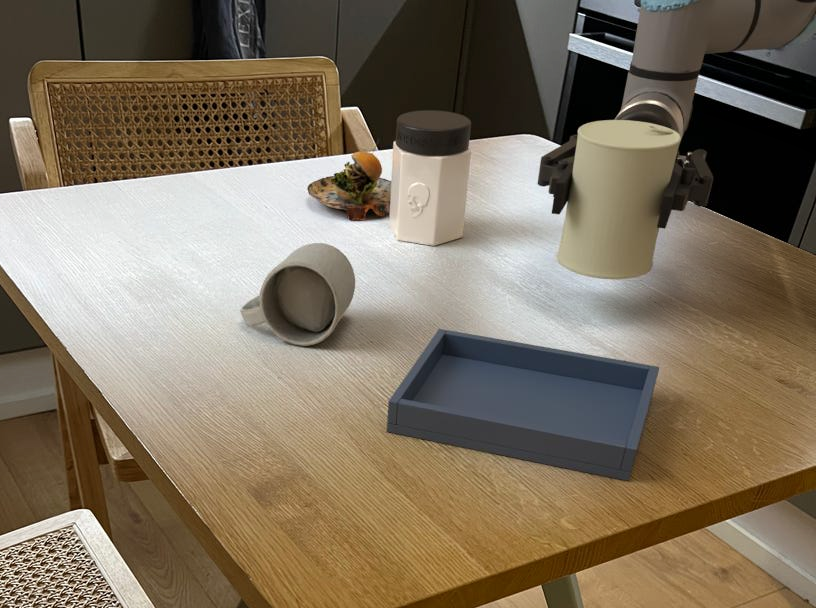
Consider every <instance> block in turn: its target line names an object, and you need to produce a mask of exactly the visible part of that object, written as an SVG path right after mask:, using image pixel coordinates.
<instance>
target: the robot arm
mask: <svg viewBox="0 0 816 608" xmlns="http://www.w3.org/2000/svg"><path fill="white" fill-rule="evenodd" d="M639 8H640V10H639V14H638V20H637V28H636V32H635V38H634V45H633V51H632V57H631V62H630V65H629V69H628V73H627V77H626V83H625V87H624V93H623V98H622V104H621V107H620V111H619V112H618V114H617V115H616V117H615V118H614V119H613V120H630V121H640V122H646V123H652V124H656V125H660V126H664V127H667V128H670V129H672V130H674V131H676V132H677V133H678V134H679V135H680V136H681V140H682V139H683V136H684V134H685V132H686V131H687V130H688V127H689V126H690V125H689V124H690V121H691V117H692V112H693V107H694V106H693V101H694V97H695V93H696V88H697V83H698V79H699V77H700V72H701V68H702V64H703V62H704V58H705V55H709V54H719V53H720V54H721V53H733V52H746V51H762V50H763V51H764V50H767V51H771V50H780V49H783V48H785V47H790V46H795V45H799V44H801V43H803V42H805V41H807V40H809V39H810V38H811V37H812V36H813V35H814V34H815V33H816V0H640V7H639ZM577 137H578V134H573V135H570V137H569V140H568V141H567V142H565V143H563V144H561V145H560V146H558V147H556V148H555V149H552V150H551V151H549V152H548V153H546V154H544V155H543V156H541V157H540V162H539V172H538V176H537V183H536V184H537V185H538V186H539V187H548V186H549V187H548V194H549V195H552V198H553V199H552V200H553V201H552V202H553V203H552V208H551V213H550V214H553V215H559V216H560V215H561V213H562V211H563V210H564V208H565V206H567V202H568V196H569V190H570V184H571V178H572V172H573V165H574V159H575V152H576V145H577ZM707 153H708V151H707V150H705V149H703V148H698V149H694V150H693V152H692V151H687V153H686V155H680V150H678V151H677V155H676V159H675V163H674V167H673V171H672V175H671V179H670V182H669V184H668V187H667V189H666V192H665V195H664V198H663V203H662V207H661V211H660V216H659V220H658V224H657V228H659V229H664V230H665V229H667V225H668V222H669V219H670V216H671V214H672V211H677V212H678V211H679V212H683V211H685V209H686V207H687V204H688V202H692V204H693V205H694V206H696V207H699V208H702V207H703V208H704V207H706V206H707V205H708V201H709V197H710V194H711V189H712V186H713V181H714V176H713V173H712V172H711V169H710V167H709V165H708V163H707V162H706V157H707Z"/></svg>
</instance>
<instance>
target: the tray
mask: <svg viewBox="0 0 816 608" xmlns="http://www.w3.org/2000/svg"><path fill="white" fill-rule="evenodd" d="M659 371H660V366H657V365H650V364H645V363H640V362H634V361H629V360H622V359H618V358H617V359H616V358H610V357H606V356H605V357H604V356H599V355H593V354H588V353H581V352H575V351H571V350H564V349H559V348H553V347H548V346H542V345H535V344H530V343H523V342H517V341H512V340H507V339H501V338H495V337H490V336H484V335H478V334H472V333H466V332H461V331H455V330H449V329H443V328H438V329H437V331H436V332H435V333H434V335H433V337H432V338H431V339H430V341H429V343H428V344H427V345H426V347H425V348H424V349H423V351H422V352H421V354H420V355H419V356H418V358H417V359H416V361H415V362H414V364H413V365H412V367H411V368H410V369H409V371H408V373H407V374H406V376H405V377H404V378H403V380H402V381H401V382H400V384H399V386H397V388H396V390H395V391H394V393H393V394H392V395H391V396H390V398H389V400H388V401H387V402H388V403H387V418H386V419H387V420H386V421H387V422H386V432H387V433H391V434H396V435H400V436H401V435H402V436H405V437H411V438H416V439H421V440H426V441H430V442H431V441H432V442H435V443H440V444H445V445H450V446H455V447H459V448H465V449H470V450H474V451H479V452H484V453H489V454H495V455H499V456H504V457H507V458H508V457H509V458H513V459H514V458H515V459H517V460H522V461H523V460H524V461H529V462H532V463H533V462H534V463H539V464H543V465H547V466H553V467H557V468H563V469H567V470H573V471H578V472H582V473H587V474H593V475H597V476H602V477H606V478H612V479H616V480H620V481H621V480H622V481H626V482H629V481H630V478H631V475H632V472H633V467H634V464H635V460H636V457H637V453H638V450H639V446H640V441H641V438H642V435H643V431H644V428H645V423H646V420H647V416H648V412H649V409H650V406H651V403H652V398H653V394H654V391H655V386H656V383H657V379H658V374H659Z"/></svg>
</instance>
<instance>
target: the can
mask: <svg viewBox="0 0 816 608" xmlns="http://www.w3.org/2000/svg"><path fill="white" fill-rule="evenodd" d="M577 135H578V137H577V145H576V152H575V159H574V165H573V172H572V178H571V184H570V190H569V196H568V201H567V203H566V210H565V216H564V220H563V226H562V231H561V238H560V242H559V248H558V251H557V253H556V261H557V262H558V263H559V264H560V266H562V267H563V268H564V269H566V270H568V271H570V272H572V273H575V274H578V275H581V276H585V277H589V278H594V279H602V280H627V279H635V278H639V277H641V276H644V275H646V274H648V273H649V272H650V271H651V269H652V268H653V266H654V262H653V261H654V254H655V249H656V244H657V240H658V235H659V230H660V228H657V224H658V220H659V216H660V211H661V207H662V203H663V198H664V195H665V192H666V189H667V187H668V184H669V182H670V179H671V175H672V171H673V167H674V163H675V159H676V155H677V151H679V147H680V144H681V141H682V139H681V136H680V135H679V134H678V133H677V132H676V131H674V130H672V129H670V128H667V127H664V126H660V125H656V124H652V123H646V122H640V121H630V120H614V119H606V120H595V121H591V122H587V123H585V124H582V125H581V126H579V127H578V129H577Z"/></svg>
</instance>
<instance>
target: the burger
mask: <svg viewBox="0 0 816 608" xmlns="http://www.w3.org/2000/svg"><path fill="white" fill-rule="evenodd" d="M379 140H380V138H378V139H377V142H376V144H375V147H374V148H373V151H372V152H368V151H356V152H354V153H352V154H351V155H350V156H351V159H352V161H353V162H354V163H351V161H347V162H346V163H344V167H345V168H344V169H343V170H341V171H339V172H335V173H333V175H330V176H326V177H322V178H319V179H317V180H315V181H312V182H311V183H309V184H308V185H307V188H306V190H307V193H308V194H309V196H311V197H312V198H313V199H315V200H316V201H318V203H320V204H323V206H326V207H329V208H332V209H338V210H343V211H346V214H347V218H348V221H350V222H352V221H355V220H356V221H358V220H359V221H365V220H366V213H367V212H368V211H369V210H372V211H373V212H374V213H375V214H376V215H377V216H378V217H385V215H386V214H388V215H390V198H391V180H388V179H386V178H383V177H381V175H382V173H383V166H382V163H381V161H380V160H379V159H378V157H377V156H376V155H375V154H374V152H375V150H376V147H377V146H378V144H379Z"/></svg>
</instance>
